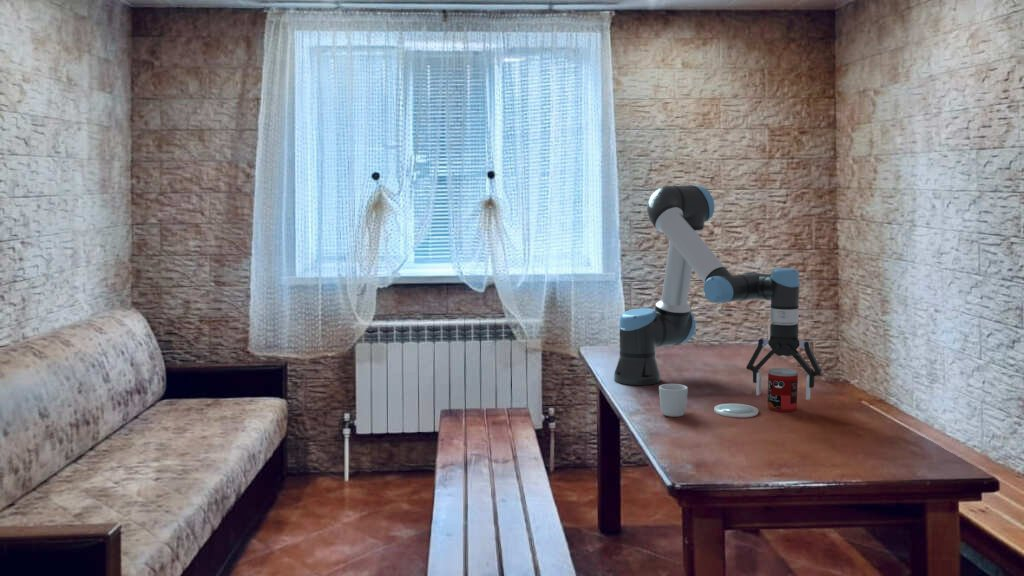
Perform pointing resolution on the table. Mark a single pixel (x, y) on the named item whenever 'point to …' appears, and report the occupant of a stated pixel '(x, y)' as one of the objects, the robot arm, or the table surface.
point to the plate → (736, 410)
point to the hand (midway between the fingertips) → (782, 396)
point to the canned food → (782, 389)
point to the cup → (673, 399)
